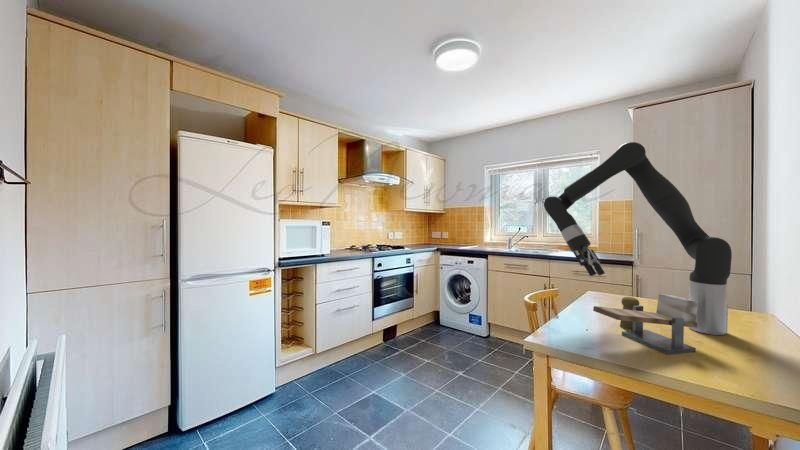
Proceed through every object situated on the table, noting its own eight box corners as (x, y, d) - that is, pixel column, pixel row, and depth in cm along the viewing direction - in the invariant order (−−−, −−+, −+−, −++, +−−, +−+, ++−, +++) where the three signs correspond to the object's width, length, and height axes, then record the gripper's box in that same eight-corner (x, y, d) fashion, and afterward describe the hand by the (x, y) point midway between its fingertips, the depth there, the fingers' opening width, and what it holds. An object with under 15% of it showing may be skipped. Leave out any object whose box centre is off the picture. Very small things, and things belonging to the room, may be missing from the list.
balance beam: (663, 317, 103) (666, 294, 103) (700, 329, 92) (703, 302, 93) (590, 309, 99) (594, 285, 99) (620, 321, 88) (624, 293, 88)
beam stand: (646, 333, 105) (647, 304, 105) (695, 351, 90) (696, 318, 90) (621, 334, 103) (622, 305, 103) (667, 354, 88) (668, 320, 88)
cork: (644, 331, 106) (644, 300, 106) (624, 330, 108) (625, 299, 107) (634, 325, 112) (635, 295, 112) (616, 324, 114) (616, 295, 113)
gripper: (576, 232, 117) (600, 271, 110) (591, 234, 126) (614, 270, 118) (559, 242, 122) (581, 279, 115) (574, 243, 131) (595, 278, 123)
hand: (598, 274), depth 117 cm, fingers open, 8 cm apart
